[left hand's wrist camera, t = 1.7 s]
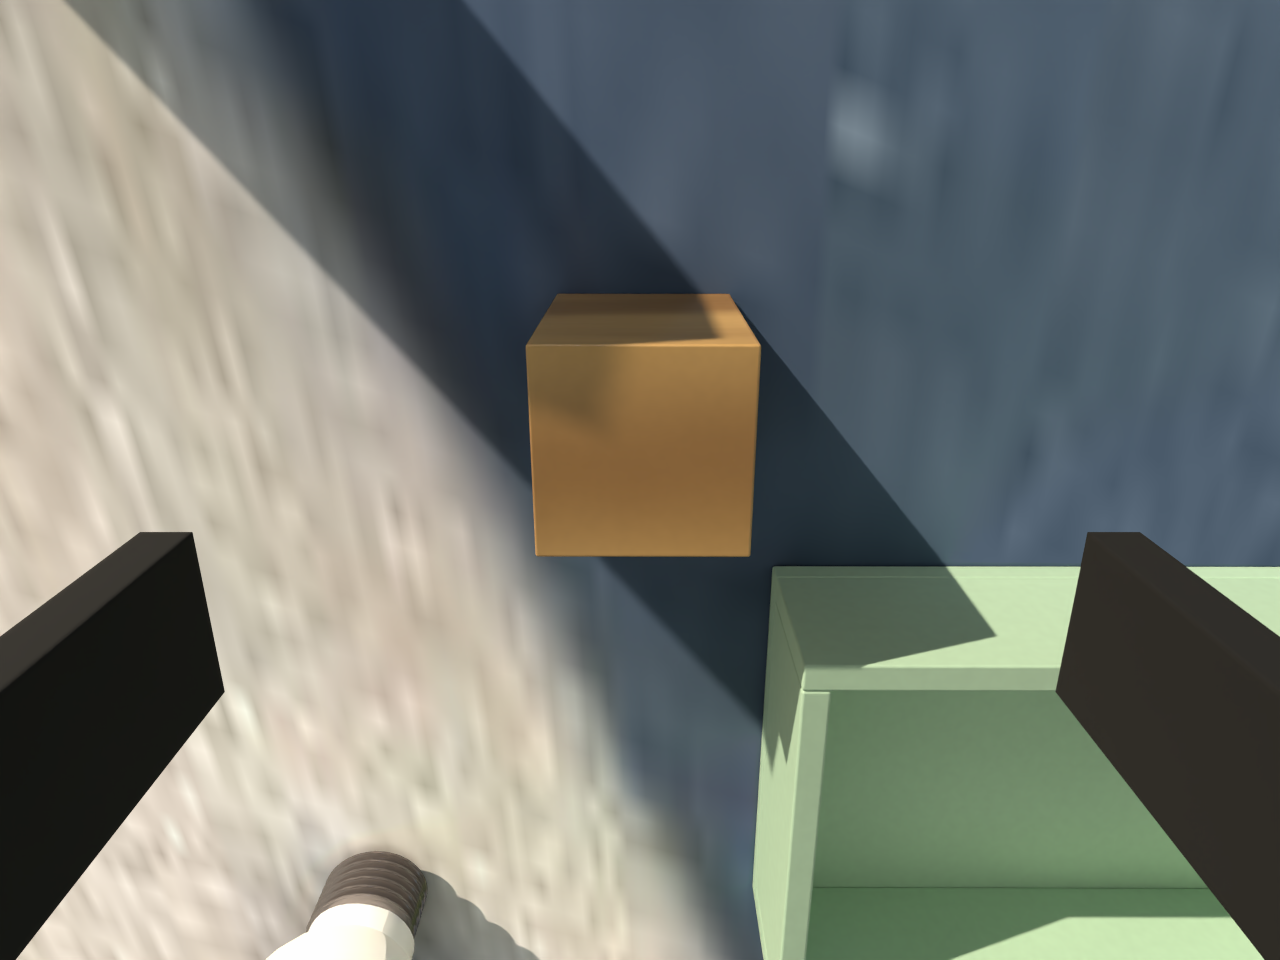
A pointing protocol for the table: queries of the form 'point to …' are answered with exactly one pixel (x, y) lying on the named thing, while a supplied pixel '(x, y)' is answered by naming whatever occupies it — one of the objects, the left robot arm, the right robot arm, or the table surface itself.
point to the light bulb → (363, 912)
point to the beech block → (643, 426)
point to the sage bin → (958, 779)
